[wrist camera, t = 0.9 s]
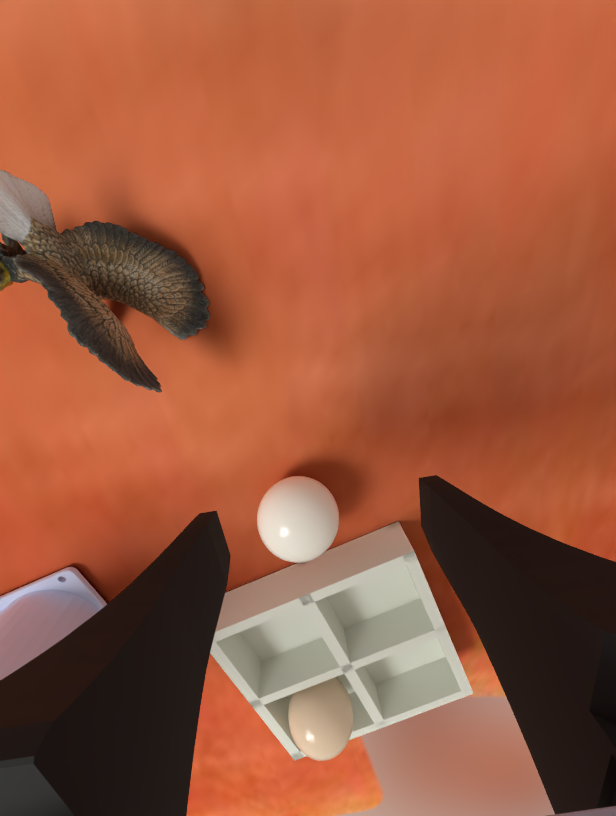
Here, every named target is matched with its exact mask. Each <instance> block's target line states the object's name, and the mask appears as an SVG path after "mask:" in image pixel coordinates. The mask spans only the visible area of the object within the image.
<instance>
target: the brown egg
mask: <svg viewBox="0 0 616 816" xmlns="http://www.w3.org/2000/svg"><path fill="white" fill-rule="evenodd" d="M288 720H289V727H290V731H291V734H292V737H293V739H294V741H295V743H296V745H297V746H298V748H299V749H300V750H301V751H302V752H303V753H304V754H305V755H306V756H308V757H310V758H312V759H314V760H320V761H325V760H329V759H332V758H334V757H336V756H337V755H338V754H339V753H340V752H341V751H342V750H343V749H344V748H345V746H346V745H347V743H348V741H349V739H350V736H351V733H352V729H353V720H354V714H353V706H352V702H351V698H350V695H349V693H348V691H347V689H346V688H345V686H344V685H343V683H342V682H341V681H340V680H339V679H338V678H337V677H334V678H332V679H329V680H327V681H324V682H321V683H319V684H316V685H314V686H311V687H309V688H306V689H303V690H301V691H298V692H296V693H293V694H292V696H291V699H290V703H289V711H288Z"/></svg>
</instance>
